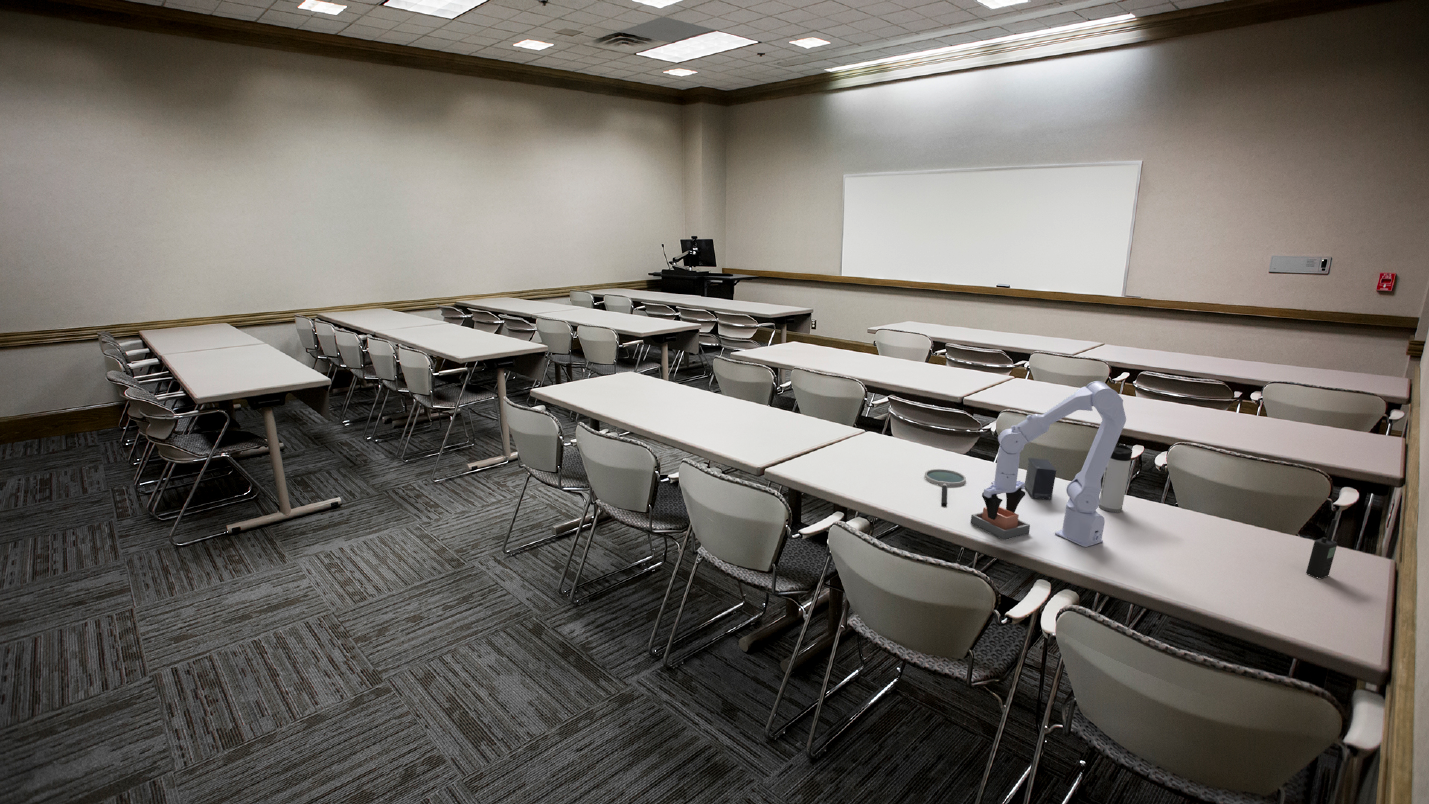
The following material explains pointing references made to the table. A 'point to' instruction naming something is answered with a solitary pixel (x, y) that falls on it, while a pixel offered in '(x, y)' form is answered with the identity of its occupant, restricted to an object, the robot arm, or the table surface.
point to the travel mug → (1115, 479)
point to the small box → (1040, 478)
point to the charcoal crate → (998, 532)
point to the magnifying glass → (945, 480)
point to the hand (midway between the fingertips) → (1000, 515)
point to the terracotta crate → (1002, 518)
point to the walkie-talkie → (1322, 555)
